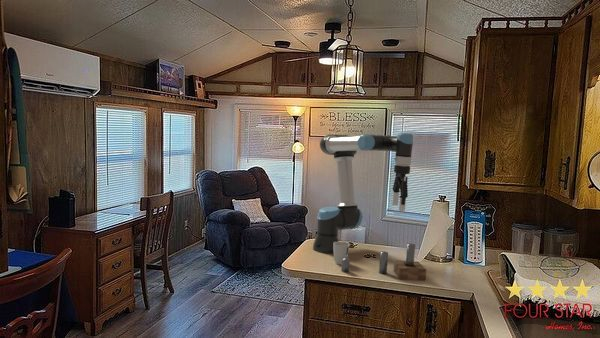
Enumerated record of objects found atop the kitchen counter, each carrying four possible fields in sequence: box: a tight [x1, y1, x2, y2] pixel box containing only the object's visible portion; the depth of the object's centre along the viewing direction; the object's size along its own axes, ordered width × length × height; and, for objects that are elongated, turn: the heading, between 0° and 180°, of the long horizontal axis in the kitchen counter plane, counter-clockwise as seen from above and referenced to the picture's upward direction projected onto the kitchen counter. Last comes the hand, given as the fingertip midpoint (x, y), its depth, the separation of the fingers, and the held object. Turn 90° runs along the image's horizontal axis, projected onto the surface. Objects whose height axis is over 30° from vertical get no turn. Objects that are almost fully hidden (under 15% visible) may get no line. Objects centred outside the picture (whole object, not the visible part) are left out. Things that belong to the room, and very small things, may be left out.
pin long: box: [405, 242, 416, 267], centre depth 204 cm, size 4×4×15 cm
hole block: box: [392, 260, 427, 281], centre depth 204 cm, size 12×12×5 cm
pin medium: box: [378, 251, 389, 275], centre depth 206 cm, size 4×4×10 cm
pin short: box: [340, 257, 351, 273], centre depth 205 cm, size 4×4×6 cm
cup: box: [333, 241, 350, 266], centre depth 217 cm, size 8×8×10 cm
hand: (398, 208), depth 212 cm, fingers open, 13 cm apart
